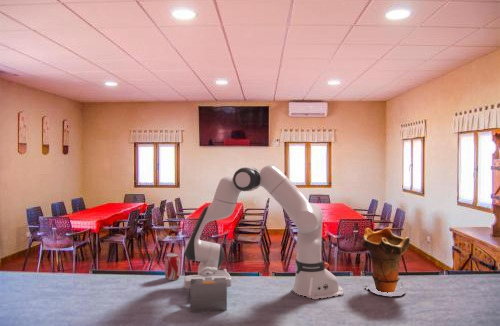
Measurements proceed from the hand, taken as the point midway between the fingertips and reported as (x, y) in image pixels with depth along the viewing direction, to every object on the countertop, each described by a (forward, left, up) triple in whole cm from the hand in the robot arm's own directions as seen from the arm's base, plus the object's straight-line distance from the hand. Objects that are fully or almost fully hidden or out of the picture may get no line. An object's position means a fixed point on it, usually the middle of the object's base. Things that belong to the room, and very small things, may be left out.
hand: (208, 288), depth 152 cm
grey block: (0, +2, -6) cm, 6 cm away
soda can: (+17, -31, -6) cm, 36 cm away
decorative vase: (-80, -4, -6) cm, 80 cm away
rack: (0, +5, -6) cm, 8 cm away
